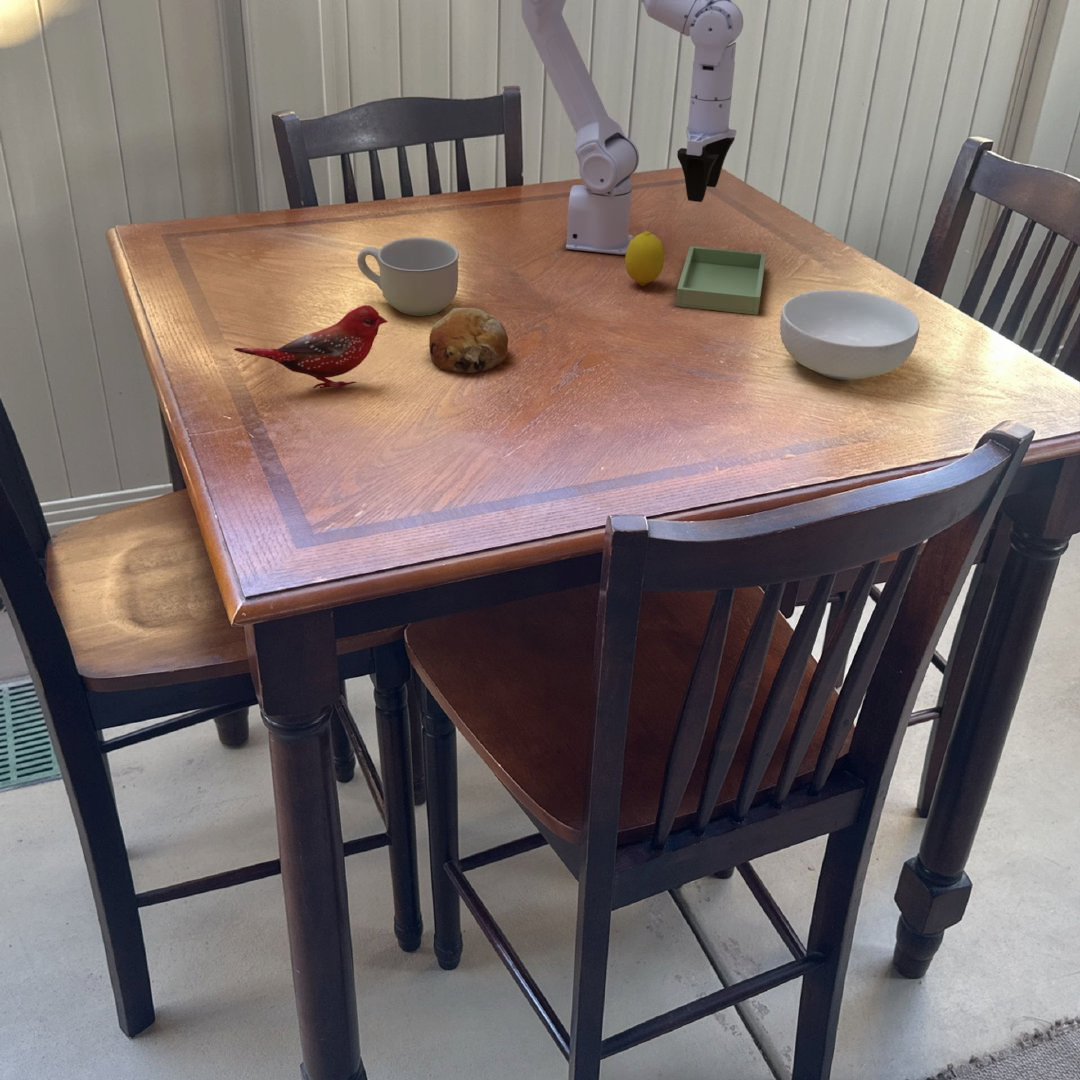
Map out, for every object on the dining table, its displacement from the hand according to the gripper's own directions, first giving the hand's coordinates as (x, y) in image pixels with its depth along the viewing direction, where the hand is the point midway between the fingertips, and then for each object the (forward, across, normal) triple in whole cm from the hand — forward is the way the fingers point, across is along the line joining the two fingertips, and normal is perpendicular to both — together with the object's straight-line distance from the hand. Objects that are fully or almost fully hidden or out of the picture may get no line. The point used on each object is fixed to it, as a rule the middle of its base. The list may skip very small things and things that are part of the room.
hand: (702, 193), depth 166 cm
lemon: (+10, -13, +4) cm, 17 cm away
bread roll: (+10, -46, +17) cm, 50 cm away
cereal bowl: (+11, -28, -26) cm, 40 cm away
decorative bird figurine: (+10, -61, +30) cm, 68 cm away
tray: (+10, -8, -6) cm, 15 cm away
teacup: (+10, -34, +31) cm, 47 cm away
